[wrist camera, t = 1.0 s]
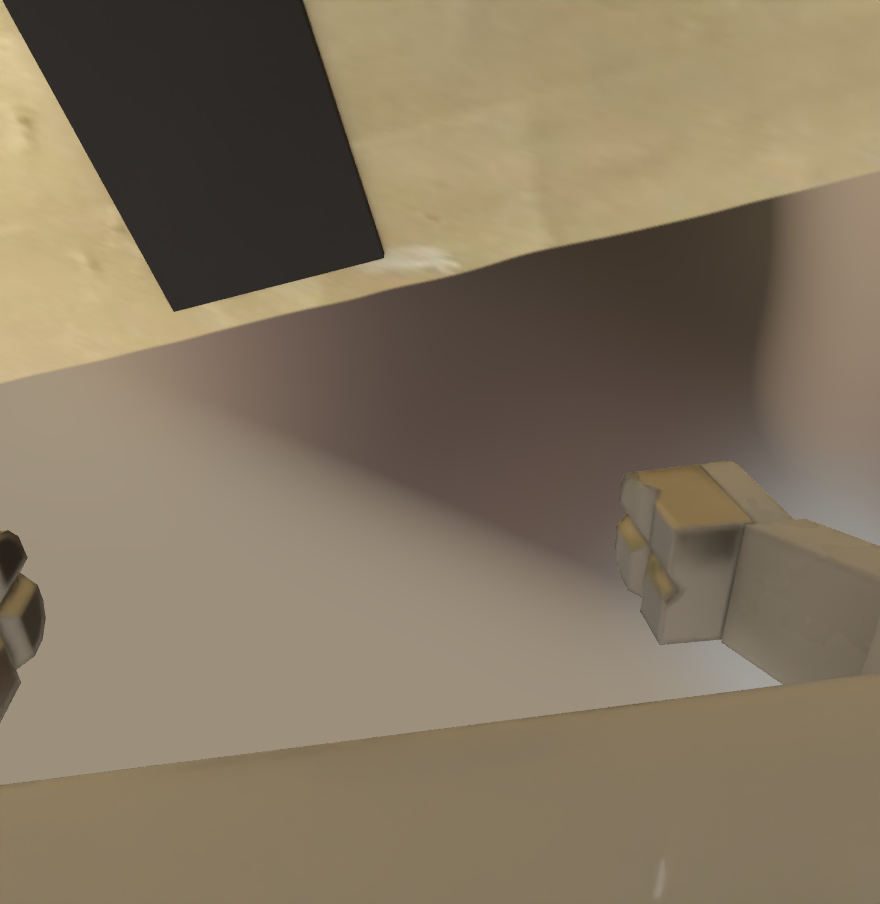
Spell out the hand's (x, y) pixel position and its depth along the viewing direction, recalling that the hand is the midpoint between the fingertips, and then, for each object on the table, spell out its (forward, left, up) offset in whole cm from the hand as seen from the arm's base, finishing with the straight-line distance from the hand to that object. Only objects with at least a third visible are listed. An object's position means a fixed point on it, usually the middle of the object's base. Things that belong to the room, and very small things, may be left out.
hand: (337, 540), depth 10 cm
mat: (+3, -13, -41) cm, 43 cm away
